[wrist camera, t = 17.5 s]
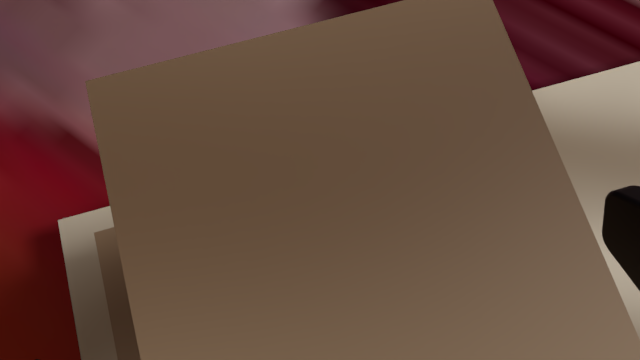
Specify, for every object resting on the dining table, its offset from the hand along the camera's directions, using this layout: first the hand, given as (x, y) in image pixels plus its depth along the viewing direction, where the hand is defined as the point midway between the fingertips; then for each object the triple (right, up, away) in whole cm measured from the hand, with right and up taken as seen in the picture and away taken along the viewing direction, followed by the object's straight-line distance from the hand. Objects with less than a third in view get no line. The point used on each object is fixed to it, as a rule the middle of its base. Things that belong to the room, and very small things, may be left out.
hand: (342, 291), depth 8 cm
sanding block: (0, -2, +7) cm, 8 cm away
